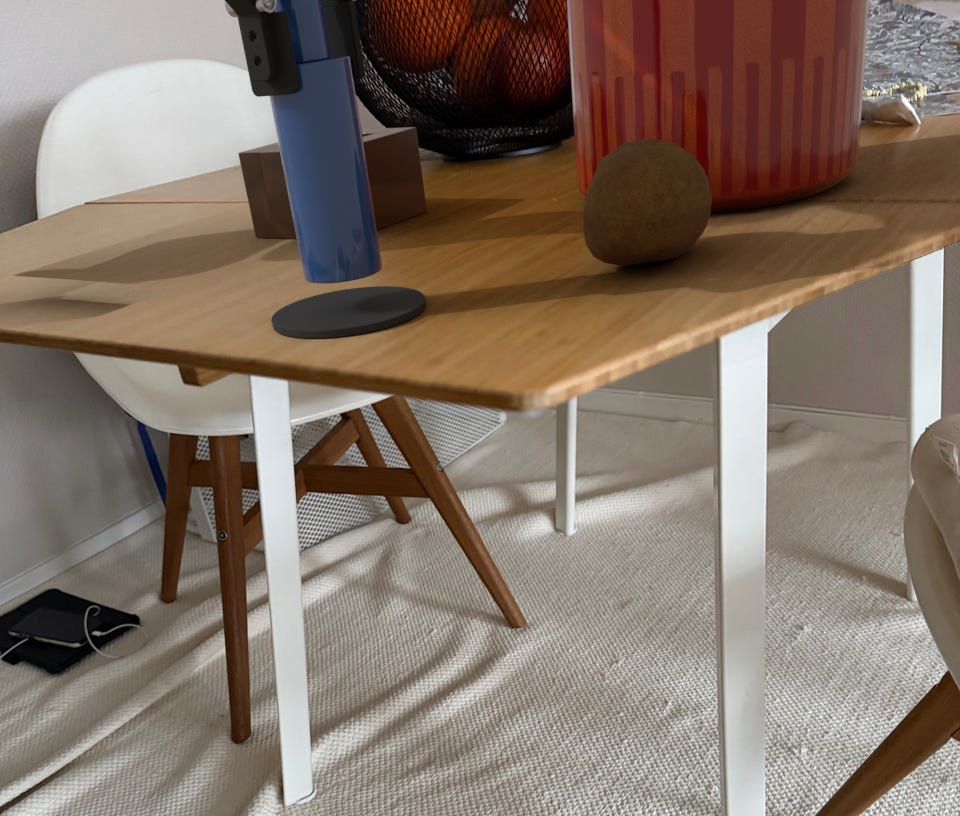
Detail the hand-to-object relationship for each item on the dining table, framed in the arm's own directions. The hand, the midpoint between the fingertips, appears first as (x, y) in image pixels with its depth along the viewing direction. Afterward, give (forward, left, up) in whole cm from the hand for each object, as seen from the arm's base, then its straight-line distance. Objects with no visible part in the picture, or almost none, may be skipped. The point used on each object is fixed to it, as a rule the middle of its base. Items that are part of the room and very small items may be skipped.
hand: (310, 83), depth 64 cm
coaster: (0, 0, -13) cm, 13 cm away
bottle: (0, 0, -11) cm, 11 cm away
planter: (+8, +39, -14) cm, 42 cm away
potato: (+14, +15, -14) cm, 25 cm away
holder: (-21, +24, -13) cm, 35 cm away
